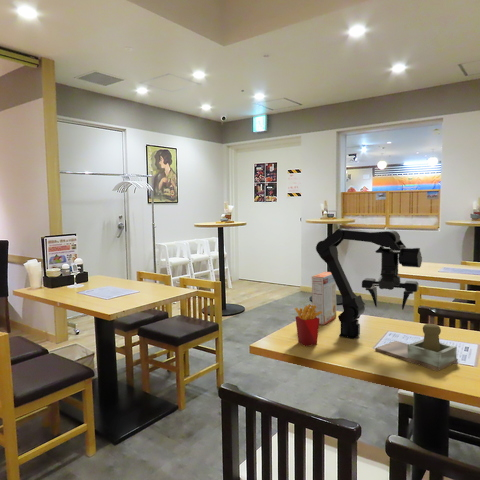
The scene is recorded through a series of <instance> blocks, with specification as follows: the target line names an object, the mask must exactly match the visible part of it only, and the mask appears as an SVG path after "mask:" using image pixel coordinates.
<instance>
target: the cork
mask: <svg viewBox="0 0 480 480" xmlns="http://www.w3.org/2000/svg"><path fill="white" fill-rule="evenodd" d="M441 330H442V329H441V327H440V325H438V324H435V323H425V324H424V325H423V326H422V332H423V339H424V341H423V347H422V348H424V349H428V350H431V351H435V352H439V351H441V349H440V343H441V342H440V335H441Z"/></svg>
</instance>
